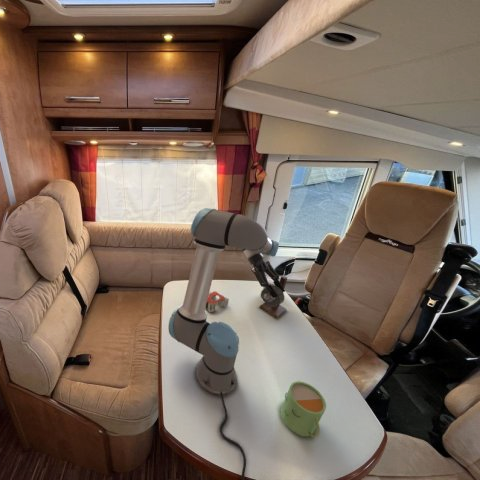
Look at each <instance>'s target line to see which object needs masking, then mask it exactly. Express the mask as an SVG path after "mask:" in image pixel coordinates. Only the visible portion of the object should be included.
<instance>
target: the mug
mask: <svg viewBox="0 0 480 480" xmlns="http://www.w3.org/2000/svg"><path fill="white" fill-rule="evenodd" d="M284 398H285V399H284V401H283V403H282V406H281V409H280V416H281V419H282V421H283V423H284V424H285V425H286V426H287V428H288V429H289V430H290V431H292V432H293V433H294V434H296V435H298V436H301V437H310V436H311V437H312V438H317V437H318V436H319V433H320V424H319V423H320V421H321V419H322V417H323V415H324V414H325V412H326V410H327V409H326V408H327V403H326V399H325V398H324V396H323V394H322V393H321V392H320V391H319V390H318V389H317V388H316V387H314V386H313V385H311V384H309V383H307V382H305V381H300V380H299V381H294V382H292V383H291V384H290V386H289V388H288V390H287V392H285V394H284ZM315 430H316V432H315ZM314 433H315V434H314Z"/></svg>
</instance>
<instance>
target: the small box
mask: <svg viewBox="0 0 480 480" xmlns="http://www.w3.org/2000/svg"><path fill="white" fill-rule="evenodd" d="M266 278H267V281H268V283H269V285H270V284H271V285H274V286H275V284H274V283H273V282H274V281H273V280H272V279H271V278H270V277H266ZM279 282H280V280H279ZM265 288H266V287H262V290H263V289H265ZM271 298H272V299H274V300H275V298H273V297H272V296H271Z"/></svg>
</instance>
